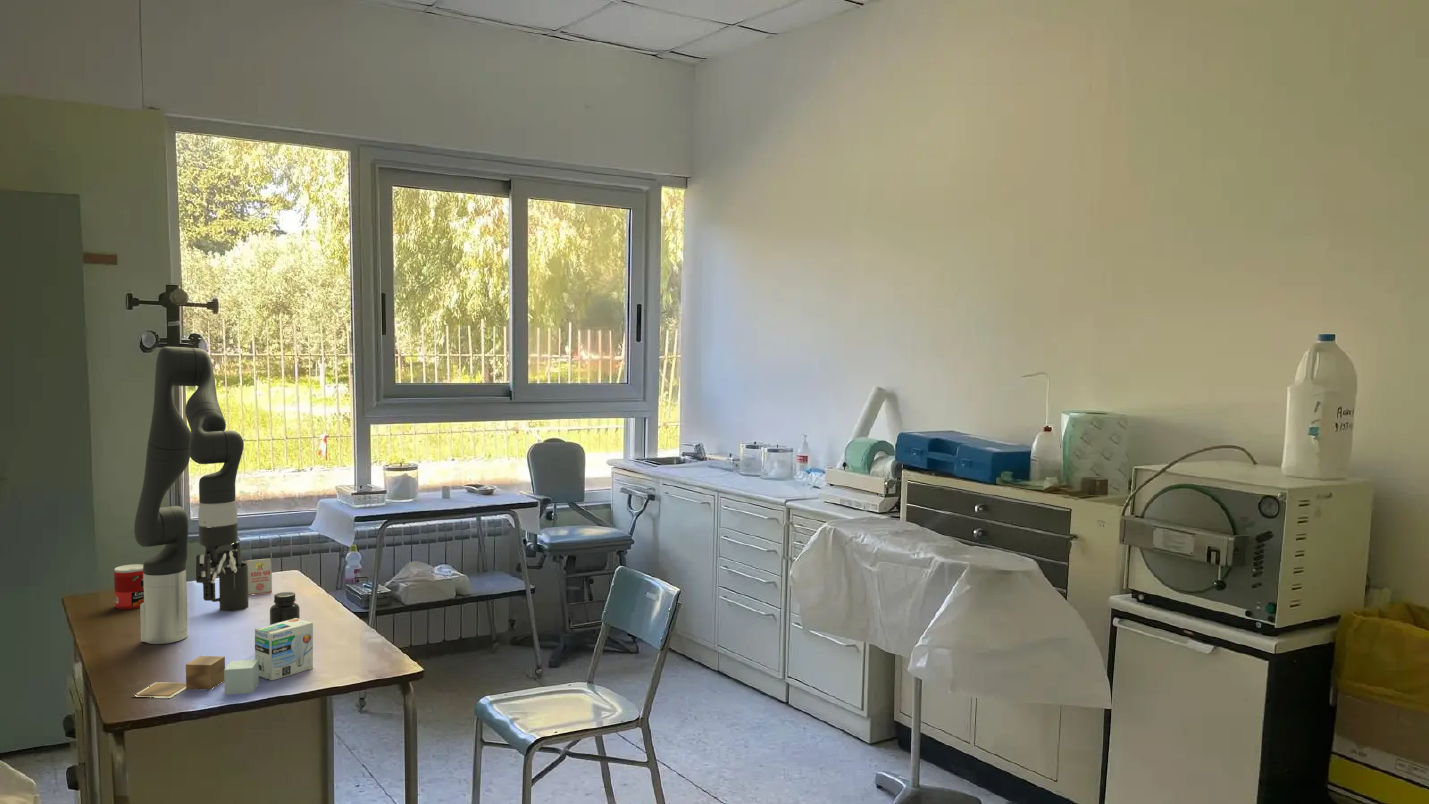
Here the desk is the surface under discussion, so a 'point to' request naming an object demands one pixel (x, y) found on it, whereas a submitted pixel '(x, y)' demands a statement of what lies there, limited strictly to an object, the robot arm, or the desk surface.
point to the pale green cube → (241, 676)
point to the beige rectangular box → (259, 576)
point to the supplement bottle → (284, 608)
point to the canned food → (129, 586)
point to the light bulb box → (284, 648)
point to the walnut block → (205, 672)
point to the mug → (234, 591)
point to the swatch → (162, 690)
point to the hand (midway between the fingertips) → (219, 594)
